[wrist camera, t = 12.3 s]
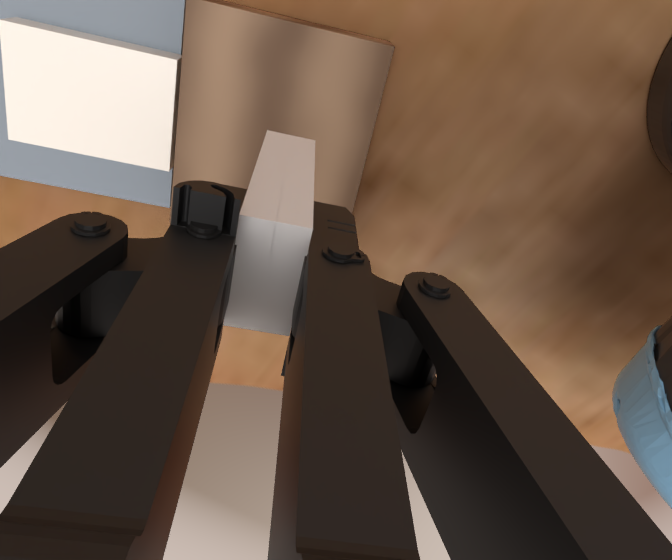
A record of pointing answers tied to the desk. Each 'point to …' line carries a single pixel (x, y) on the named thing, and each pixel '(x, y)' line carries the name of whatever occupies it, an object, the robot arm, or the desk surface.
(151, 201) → the mat
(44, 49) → the tile
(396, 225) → the desk surface
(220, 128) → the deck
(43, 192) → the desk surface
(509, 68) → the desk surface
